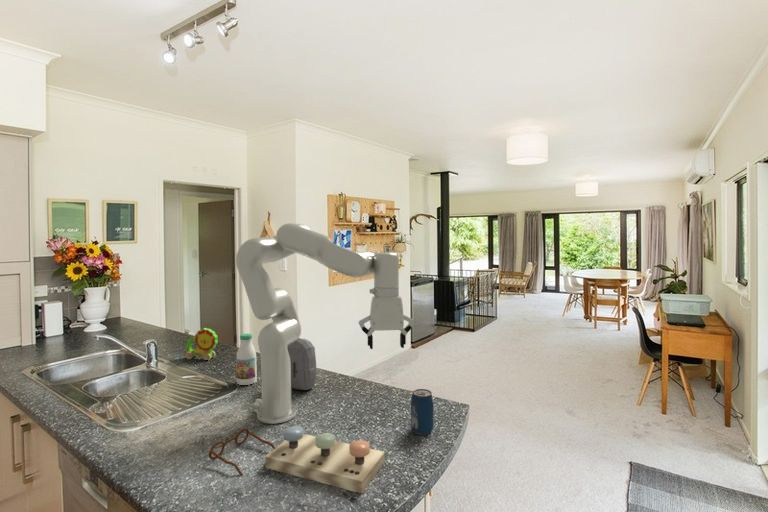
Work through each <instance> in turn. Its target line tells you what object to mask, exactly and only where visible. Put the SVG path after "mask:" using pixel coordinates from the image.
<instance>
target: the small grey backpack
mask: <svg viewBox="0 0 768 512" xmlns="http://www.w3.org/2000/svg"><path fill="white" fill-rule="evenodd" d="M287 349H288V353H289V356H290V362H291V389H294V390H300V391H308V390H311V389H312V388H314V386H315V381H316V379H317V377H316V376H317V356H316V350H315V349H316V348H315V346H314V344H313V343H312V342H311V341H310V340H308V339H306V338H300V337H299V338H298V340H297V341H295V342H294V343H292V344H291V345H289V346H288V347H287Z"/></svg>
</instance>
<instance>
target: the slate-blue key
mask: <svg viewBox="0 0 768 512" xmlns="http://www.w3.org/2000/svg"><path fill="white" fill-rule="evenodd" d="M303 434H304V428H303V427H302V426H298V425H297V426H296V425H293V426H289V427H286V428H285V429H284V430H283V440H284V441H285V440H286V441H297V440H300V439H301V438H302V437H303Z"/></svg>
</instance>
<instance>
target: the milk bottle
mask: <svg viewBox="0 0 768 512" xmlns="http://www.w3.org/2000/svg"><path fill="white" fill-rule="evenodd" d="M239 341H240V345H239V348H238V350H237V352H236V383H237V385H238V384H239V385H238V386H240V385H248V386H251V385H250V384H252V385H254V384H253V383H255V382H256V383H257V380H258V375H257V374H258V373H257V372H258V371H257V365H258V364H257V352H256V350H255V347H254V345H253V342H252V341H253V335H252V333H241V334H240V335H239ZM256 383H255V384H256Z"/></svg>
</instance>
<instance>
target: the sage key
mask: <svg viewBox="0 0 768 512" xmlns="http://www.w3.org/2000/svg"><path fill="white" fill-rule="evenodd" d="M335 441H336V435H335V434H333V433H331V432H323V433H319V434H318V435H316V438H315V445H316V447H317V448H320V449H328V448H331V447H333V446H334V445H335Z"/></svg>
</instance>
